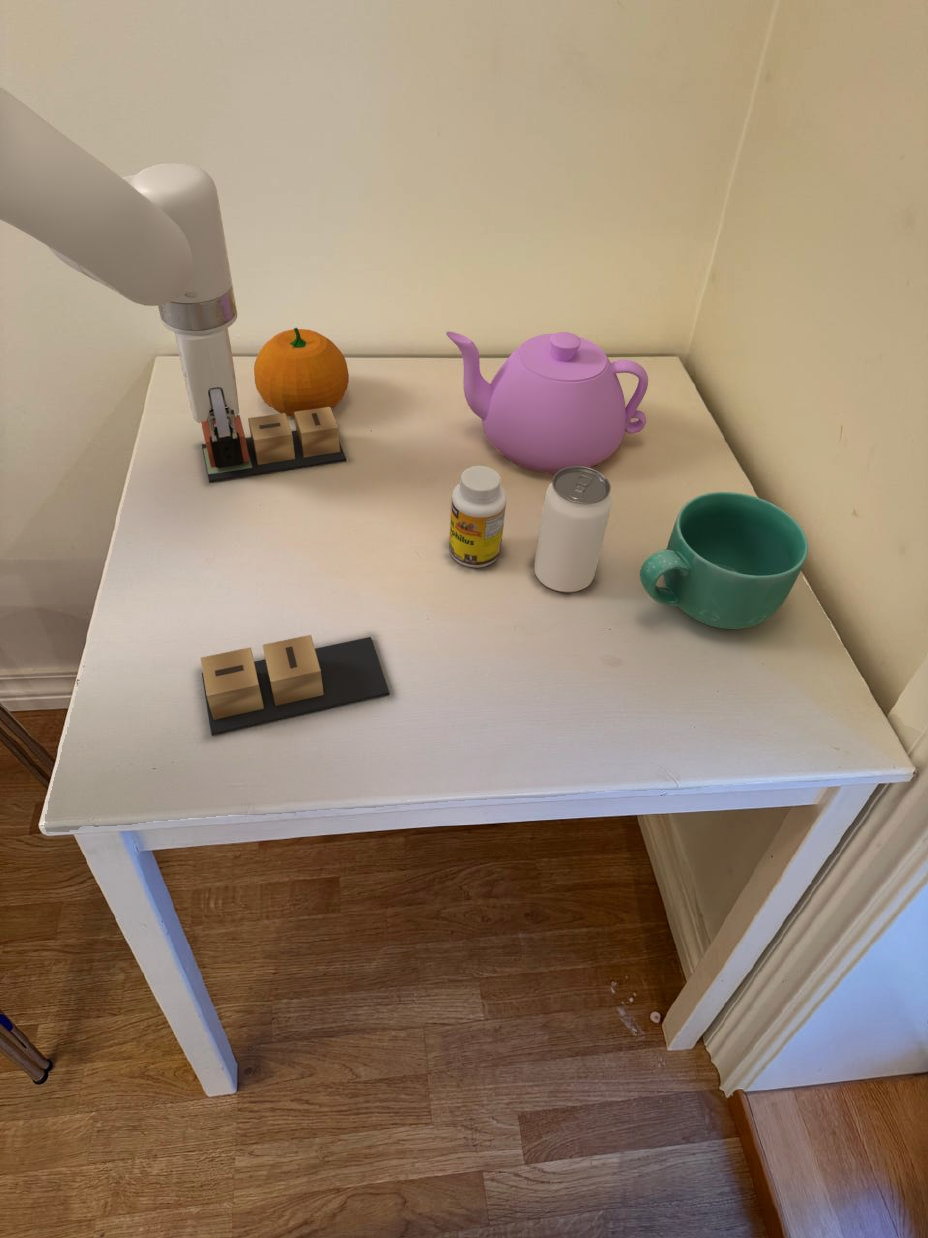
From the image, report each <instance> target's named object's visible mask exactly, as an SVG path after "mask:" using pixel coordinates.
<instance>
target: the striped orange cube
mask: <svg viewBox="0 0 928 1238" xmlns="http://www.w3.org/2000/svg"><path fill="white" fill-rule="evenodd" d="M233 417H234V416H233ZM227 420H228V425H230V423H229V418H228V419H227ZM234 422H235V428H236V433H239V438H240V443H241V449H242V454H243V460H244V463H246V462H249V456H248V450H247V444H246V439H245V438H246V435H245V431H244V428H243V423H242V418H241V416H240V414H238V416H237V417H236V418H235V417H234ZM213 423H214V428H215V427H217V425H216V420H213ZM201 429H202V433H203V438H204V444H206V448H207V452H208V457H209V461H210V466H211V468H213V467H216V466H215V462H214V457H213V452H212V448H211V443H210V439H209V437H211V432H210V427H209V423H208V419H207V420H206V421H204V422H201Z"/></svg>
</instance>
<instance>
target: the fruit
mask: <svg viewBox="0 0 928 1238" xmlns="http://www.w3.org/2000/svg"><path fill="white" fill-rule="evenodd" d="M253 376H254V384H255V388H256V390H257V392H258V394H259V396H260V398H261V399H262V400H263V401H264V402H265V404H266V405H267V406H269V407H270V408H271V409H273V410H275V411H276V412H278V413H279V414H282V413H285V414H286V416H290V417H295V416H294V412H297V411H304V410H311V409H318V408H325V407H331V410H333V409H334V408H335V407H336V406H337V405H338V404H339V403H340V402H341V401H342V400H343V399H344V397H345V394H346V392H347V389H348V386H349V381H350V375H349V369H348V364H347V360H346V357H345V355H344V354H343V353H342V351H341V350H340V349H339V347H338V346H337V345H336V344H335V343H334V342H333V341H332V340H331V339H329V337H328V338H327V337H326V336H325V335H324V334H323V335H322V334H321V333H319V332H317V331H314V330H311V329H306V328H305V329H304V328H298V327H294V328H293V329H292V328H291V329H288V330H284V331H281V332H278V333H277V334H275V335H273V337H272V338H270V339H268V341H266V342H265V344H264V345H263V346H262V347H261V348H260V351H259V352H258V354H257V356H256V359H255V361H254V367H253Z"/></svg>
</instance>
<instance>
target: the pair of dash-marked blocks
mask: <svg viewBox="0 0 928 1238" xmlns="http://www.w3.org/2000/svg"><path fill="white" fill-rule="evenodd" d="M287 416H288V415H286V414H285V413H276V414H269V415H263V416H262V415H261V416H254V417H248V418H247V422H248V427H249V433H250V434H249V435H250V437H251V440H252V445H253V448H254V452H255V456H256V460H257V463H258V465H261V464H268V463H274V462H281V461H287V460H294V459H295V453H294V444H293V436H292V432H291V431H292V430H291V425H290V423H289V419H288V417H287ZM293 417H294V424H295V431H296V433H297V438H298V441H299V445H300V448H301V451H302V454H303V457H304V458H306V457H313V456H319V455H325V454H332V453H338V452H340V444H341V442H340V430H339V426H338V422H337V421H336V418H335V416H334V412H333V409H331V407H325V408H318V409H311V410H304V411H297V412H294V416H293ZM339 442H340V443H339Z"/></svg>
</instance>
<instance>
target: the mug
mask: <svg viewBox="0 0 928 1238" xmlns="http://www.w3.org/2000/svg"><path fill="white" fill-rule="evenodd" d="M808 553H809V543H808V539H807V535H806V533H805V531H804V529H803V528H802V526H801V525H800V524H799V523H798V522H797V521H796V519H795V518H793V516H791V515H790V514H789V513H788V512H787V511H785V510H783V509H782V508H781V507H779V506H778V505H775V504H773V503H772V502H770V501H767V500H766V499H762V498H760V497H757V496H754V495H750V494H747V493H740V492H734V491H715V492H714V491H713V492H707V493H704V494H700V495H697V496H696V497H694V498H692V499H690V500H689V501H687V502H686V503H685V504H683V506H682V507H681V509H680V510H679V512H678V513H677V517H676V519H675V521H674V524H673V528H672V531H671V533H670V537H669V539H668V542H667V547H666V549H661V550H659V551H656V552H654V553H652V554H651V555H650V556H648V557H647V558H646V559H645V560H644V562H643V563H642V565H641V568H640V570H639V580H640V583H641V585H642V587H643V589H644V591H646V593H647V594H648V596H649V597H650V598H652V599H653V600H654V601H655V602H657V603H659V604H662V605H666V606H677V607H678V608H679V609H680V610H682V611H683V612H684V613H685V614H687V615H688V616H690V617H691V618H692V619H695V620H696V621H698V622H700V623H703V624H704V625H708V626H711V627H715V628H719V629H727V630H740V629H741V630H742V629H747V628H751V627H755V626H757V625H759V624H761V623H764V622H765V621H767V620H768V619H770V618H771V617H772V616H773V615H774V614H776V612H778V611H779V609H780V608H781V607H782V605H783V604H784V602H785V601H786V599H787V597H788V596H789V595H790V592H792V591H791V590H792V589H793V587H794V585H795V583H796V581H797V580H798V577H799V576H800V573H801V571H802V569H803V567H804V565H805V562H806V560H807V557H808ZM661 577H662V579H663V583H664V586H665V587H663V586H659V585H657V583H658V582H659V580H660V579H661Z"/></svg>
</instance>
